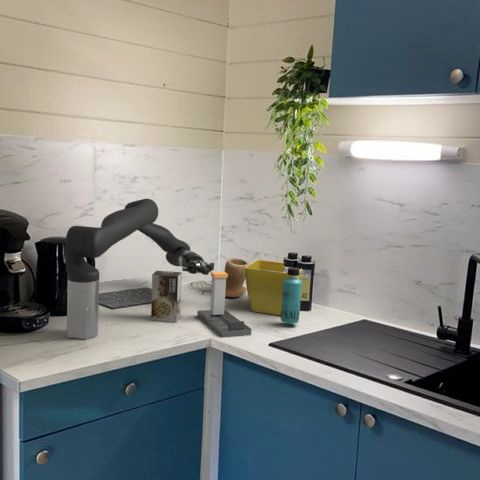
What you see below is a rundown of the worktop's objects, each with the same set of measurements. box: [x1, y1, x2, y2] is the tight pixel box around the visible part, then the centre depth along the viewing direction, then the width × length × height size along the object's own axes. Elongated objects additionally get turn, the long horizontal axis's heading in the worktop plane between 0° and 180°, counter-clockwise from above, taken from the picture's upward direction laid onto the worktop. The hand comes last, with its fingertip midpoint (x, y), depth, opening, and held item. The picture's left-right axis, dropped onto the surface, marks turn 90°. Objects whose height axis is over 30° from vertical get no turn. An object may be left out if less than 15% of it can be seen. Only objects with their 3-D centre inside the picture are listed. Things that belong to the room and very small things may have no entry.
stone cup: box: [223, 257, 250, 298], centre depth 244 cm, size 15×12×15 cm
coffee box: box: [150, 270, 183, 323], centre depth 204 cm, size 9×6×16 cm
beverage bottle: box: [280, 268, 303, 325], centre depth 205 cm, size 6×7×20 cm
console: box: [196, 308, 252, 338], centre depth 202 cm, size 24×10×4 cm, turn 23°
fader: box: [209, 271, 228, 315], centre depth 206 cm, size 4×5×14 cm
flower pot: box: [245, 259, 302, 316], centre depth 224 cm, size 19×19×17 cm
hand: (206, 272), depth 214 cm, fingers closed
